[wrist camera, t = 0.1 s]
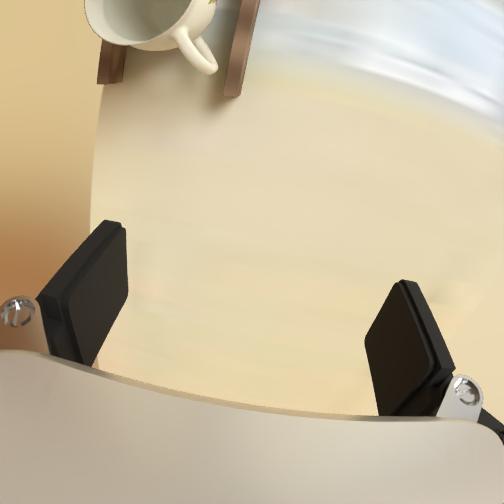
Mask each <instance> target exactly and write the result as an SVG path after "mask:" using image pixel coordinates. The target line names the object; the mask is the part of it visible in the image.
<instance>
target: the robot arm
mask: <svg viewBox="0 0 504 504" xmlns="http://www.w3.org/2000/svg"><path fill="white" fill-rule="evenodd" d="M127 296H128V276H127V252H126V229H125V228H122V225H121V223H119V222H114V221H109V220H104V221H102V223H101V224H100V225H99V226H98V227H97V228H96V229H95V230H94V231H93V232H92V233H91V234H90V235H89V236H88V238H87V239H86V240H85V241H84V242H83V243H82V244H81V245H80V246H79V248H78V249H77V250H76V251H75V252H74V253H73V254H72V255H71V256H70V258H69V259H68V260H67V261H66V262H65V263H64V264H63V266H62V267H61V268H60V269H59V270H58V272H57V273H56V274H55V275H54V277H53V278H52V279H51V280H50V281H49V283H48V284H47V285H46V286H45V288H44V289H43V290H42V291H41V292H40V294H39V295H38V296H37V297H36V299H34V298H32V297H29V296H16V297H13V298H10V299H9V300H7V301H5V302H4V303H3V304H2V305H1V306H0V504H504V425H503V424H502V423H501V422H499V421H498V420H497V419H496V418H494V417H493V416H492V415H491V414H489V413H488V412H487V411H486V410H484V409H483V408H482V404H483V394H482V391H481V389H480V387H479V386H478V384H477V383H476V382H475V381H474V380H473V379H472V378H470V377H468V376H465V375H457V376H455V377H453V374H452V372H453V371H454V370H455V369H456V368H455V366H454V363H453V360H452V358H451V355H450V353H449V351H448V348H447V346H446V344H445V341H444V339H443V337H442V334H441V332H440V330H439V328H438V325H437V323H436V321H435V319H434V317H433V315H432V312H431V310H430V308H429V306H428V304H427V302H426V300H425V298H424V296H423V294H422V292H421V290H420V288H419V286H418V284H417V283H416V282H413V281H408V280H403V279H402V280H400V281H399V282H397V283H395V284H394V285H393V287H392V289H391V291H390V293H389V295H388V297H387V298H386V300H385V302H384V304H383V306H382V308H381V310H380V311H379V313H378V315H377V317H376V319H375V320H374V322H373V324H372V326H371V327H370V329H369V331H368V333H367V334H366V337H365V349H366V353H367V358H368V362H369V367H370V372H371V377H372V382H373V387H374V392H375V397H376V402H377V408H378V413H379V416H362V415H343V414H329V413H317V412H306V411H296V410H287V409H279V408H271V407H264V406H257V405H250V404H244V403H238V402H232V401H226V400H221V399H215V398H210V397H205V396H200V395H195V394H190V393H186V392H181V391H177V390H172V389H168V388H164V387H160V386H156V385H152V384H148V383H144V382H141V381H137V380H133V379H130V378H126V377H123V376H119V375H115V374H112V373H108V372H105V371H102V370H98V369H95V368H92V367H91V366H92V364H93V363H94V360H95V358H96V356H97V354H98V352H99V350H100V348H101V347H102V345H103V343H104V341H105V339H106V337H107V335H108V333H109V331H110V329H111V327H112V325H113V323H114V321H115V320H116V318H117V316H118V314H119V312H120V310H121V308H122V307H123V305H124V303H125V301H126V299H127Z"/></svg>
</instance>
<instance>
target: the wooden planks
mask: <svg viewBox="0 0 504 504" xmlns="http://www.w3.org/2000/svg"><path fill="white" fill-rule="evenodd" d="M259 3H260V0H242V2H241V6H240V11H239V15H238V20H237V25H236V29H235V34H234V39H233V44H232V49H231V54H230V59H229V64H228V69H227V74H226V80H225V85H224V91H223V95H225V96H231V97H238V96H239V95H240V94H241V89H242V84H243V79H244V74H245V69H246V64H247V59H248V54H249V49H250V45H251V40H252V35H253V31H254V26H255V21H256V17H257V12H258V8H259ZM126 47H127V46H124V45H116V44H112V43H110V42H107V41H105V40H104V39H102V45H101V52H100V60H99V68H98V77H97V84H112V83H118V82H122V76H123V68H124V60H125V53H126Z"/></svg>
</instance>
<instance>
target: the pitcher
mask: <svg viewBox="0 0 504 504" xmlns="http://www.w3.org/2000/svg"><path fill="white" fill-rule="evenodd" d="M84 5H85V7H84V8H85V14H86V18H87V20H88V23H89V25H90V26H91V28H92V30H93V31H94V32H95V33H96V34H97V35H98V36H99V37H100V38H102V39H104V40H105V41H107V42H110V43H112V44H116V45H124V46H128V45H129V46H132V47H134V48H138V49H141V50H148V51H163V50H170V49H174V48H177V47H178V48H179V49H180V51H181V52H182V54H183V55H184V56H185V58H186V59H187V60H188V61H189V62H190V63H191V65H192V66H193V67H194V68H195V69H197V70H198V71H199V72H200V73H202V74H204V75H212V74H213V73H215V72H216V71H217V69H218V65H217V62H216V60H215V58H214V56H213V54H212V52H211V51H210V49H209V47H208V46H207V44H206V43H205V41H204V40H203V39H202V37H201V33H202V32H204V30H205V29H206V28H207V27H208V26H209V24H210V22H211V21H212V19H213V16H214V13H215V10H216V5H217V0H84Z"/></svg>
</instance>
